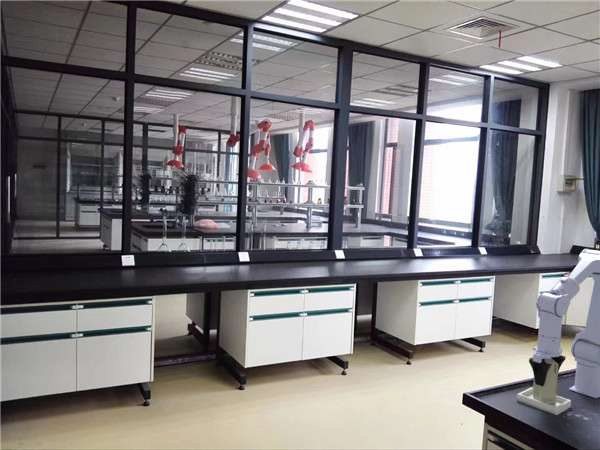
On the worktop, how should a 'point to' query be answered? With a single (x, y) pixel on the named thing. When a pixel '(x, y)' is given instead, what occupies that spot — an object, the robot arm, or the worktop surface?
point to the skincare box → (548, 385)
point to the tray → (528, 399)
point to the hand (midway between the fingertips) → (545, 382)
